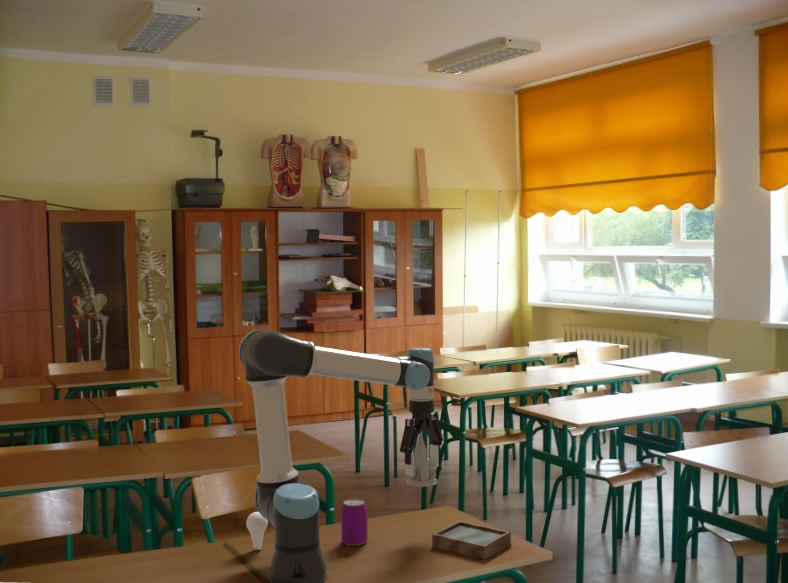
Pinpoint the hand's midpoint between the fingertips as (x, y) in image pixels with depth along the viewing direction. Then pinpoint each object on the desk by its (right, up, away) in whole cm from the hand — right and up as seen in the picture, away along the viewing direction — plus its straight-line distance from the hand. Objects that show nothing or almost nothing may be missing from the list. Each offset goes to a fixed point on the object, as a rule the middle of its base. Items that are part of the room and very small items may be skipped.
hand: (422, 470), depth 238 cm
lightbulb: (-48, -21, -10) cm, 53 cm away
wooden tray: (+14, -20, -10) cm, 26 cm away
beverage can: (-20, -20, -5) cm, 29 cm away
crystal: (0, -4, 0) cm, 4 cm away
